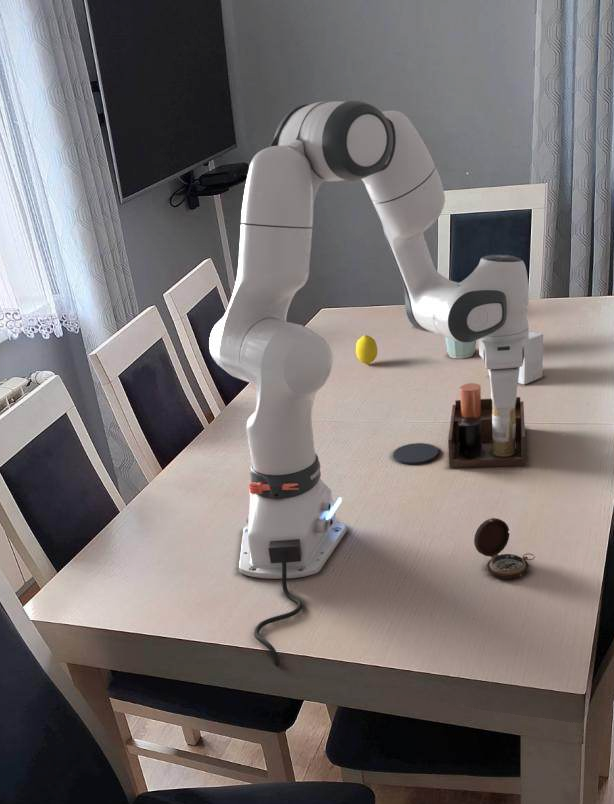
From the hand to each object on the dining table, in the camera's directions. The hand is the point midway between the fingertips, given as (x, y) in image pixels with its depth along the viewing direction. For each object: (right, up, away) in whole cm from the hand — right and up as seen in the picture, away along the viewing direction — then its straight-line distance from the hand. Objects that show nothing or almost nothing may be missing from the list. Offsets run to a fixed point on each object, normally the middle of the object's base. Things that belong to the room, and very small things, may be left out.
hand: (504, 413), depth 167 cm
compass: (-8, -29, -30) cm, 43 cm away
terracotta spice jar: (-4, +1, +10) cm, 11 cm away
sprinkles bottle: (+1, -7, +4) cm, 8 cm away
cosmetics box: (+14, +14, +37) cm, 42 cm away
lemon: (-18, +21, +60) cm, 66 cm away
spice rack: (-1, -6, +7) cm, 9 cm away
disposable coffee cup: (+6, +23, +56) cm, 61 cm away
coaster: (-15, -7, +9) cm, 19 cm away
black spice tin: (-5, -7, +6) cm, 11 cm away
